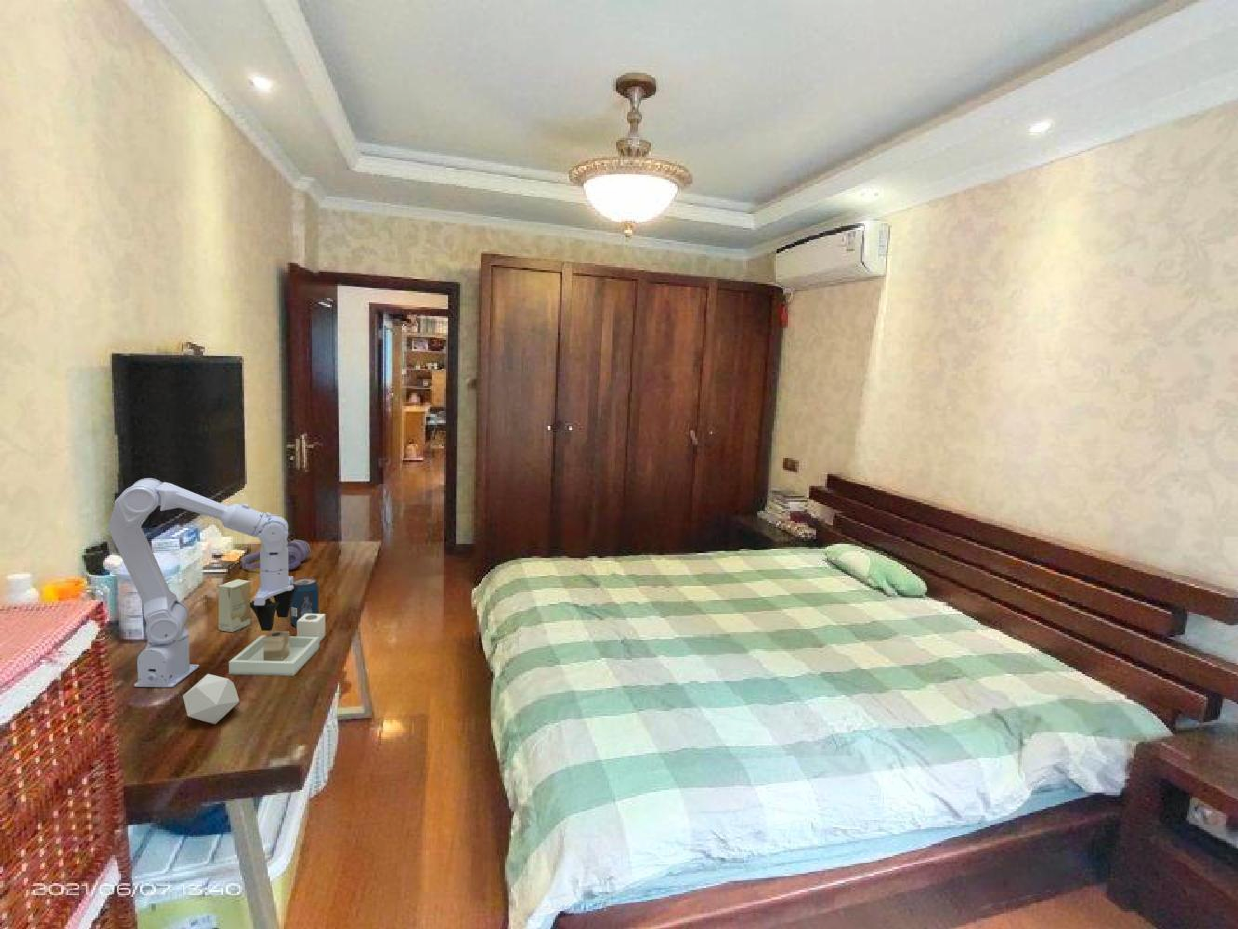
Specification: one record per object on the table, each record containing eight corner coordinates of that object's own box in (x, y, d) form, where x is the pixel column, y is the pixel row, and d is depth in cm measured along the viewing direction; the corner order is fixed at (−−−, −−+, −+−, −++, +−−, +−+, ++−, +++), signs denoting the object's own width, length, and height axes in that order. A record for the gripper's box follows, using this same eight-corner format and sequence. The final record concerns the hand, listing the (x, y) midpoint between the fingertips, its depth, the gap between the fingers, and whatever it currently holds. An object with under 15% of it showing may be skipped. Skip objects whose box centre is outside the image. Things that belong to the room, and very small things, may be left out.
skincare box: (232, 633, 154) (231, 588, 152) (218, 630, 155) (216, 585, 153) (252, 623, 160) (251, 580, 159) (238, 621, 161) (237, 578, 159)
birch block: (281, 662, 140) (280, 638, 139) (263, 662, 139) (263, 637, 138) (289, 654, 144) (289, 630, 143) (272, 654, 143) (271, 630, 142)
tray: (293, 675, 135) (293, 663, 135) (229, 674, 134) (228, 661, 134) (319, 648, 149) (319, 637, 149) (261, 646, 148) (260, 635, 147)
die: (249, 714, 121) (241, 666, 124) (225, 716, 112) (217, 664, 115) (205, 731, 119) (198, 682, 122) (177, 734, 111) (170, 681, 114)
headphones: (315, 556, 218) (257, 564, 214) (311, 535, 216) (252, 542, 213) (298, 572, 200) (234, 581, 196) (294, 549, 198) (229, 557, 195)
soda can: (305, 616, 167) (305, 575, 166) (324, 621, 165) (324, 579, 163) (284, 625, 161) (283, 582, 159) (303, 630, 159) (303, 587, 157)
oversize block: (317, 644, 151) (317, 621, 151) (296, 643, 151) (296, 620, 150) (325, 635, 156) (325, 613, 155) (305, 635, 156) (305, 613, 155)
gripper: (276, 579, 132) (277, 637, 133) (305, 559, 146) (306, 612, 148) (243, 577, 131) (244, 636, 133) (276, 558, 145) (276, 611, 147)
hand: (275, 623), depth 140 cm, fingers open, 7 cm apart
